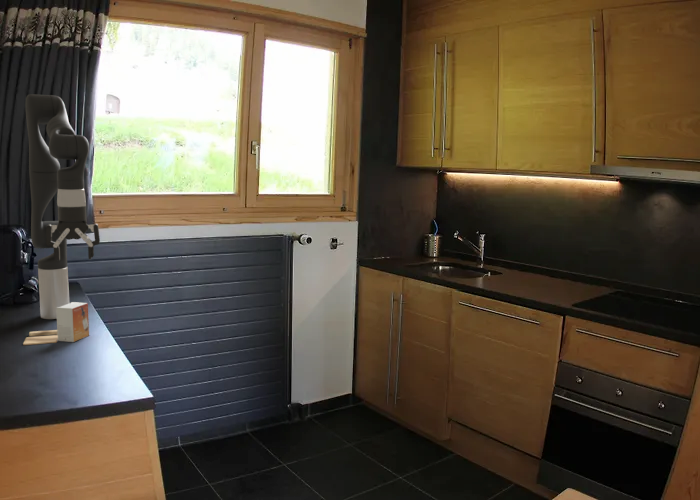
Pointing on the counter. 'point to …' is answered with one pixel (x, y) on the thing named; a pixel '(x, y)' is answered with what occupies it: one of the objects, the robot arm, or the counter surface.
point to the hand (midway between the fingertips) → (74, 259)
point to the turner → (43, 333)
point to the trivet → (40, 340)
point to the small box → (72, 321)
